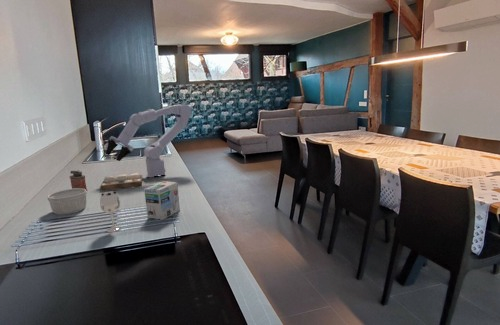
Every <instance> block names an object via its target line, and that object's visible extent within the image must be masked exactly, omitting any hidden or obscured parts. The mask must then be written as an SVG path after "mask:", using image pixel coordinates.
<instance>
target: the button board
mask: <svg viewBox="0 0 500 325" xmlns="http://www.w3.org/2000/svg"><path fill="white" fill-rule="evenodd" d="M114 180H115V181H114V182H117V181H118V177H114ZM127 180H131V176H130V175H129V176H128V175H127ZM132 180H134V179H132ZM142 180H144V179H143V174H140V181H137V182H128V183H120V184H111V185H102V184H103V183H107V182H105V181H104V180H103V181H102V183H101V184H100V186H99V187H100V192H110V191H116V190H125V189H133V188H132V187H134V188H141V187H140V186H142V187H143V181H142ZM123 181H126V180H123Z"/></svg>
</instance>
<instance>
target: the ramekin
mask: <svg viewBox="0 0 500 325" xmlns="http://www.w3.org/2000/svg"><path fill="white" fill-rule="evenodd" d="M87 192H88V191H87ZM87 192H86V189H82V188H74V189H72V188H68V189H61V190H59V191H58V190H57V191H54V192H52V193H50V194H48V195H47V201H48V202H49V206H50V208H51V211H52V213H53V214H55V215H59V216H60V215H61V216H62V215H71V214H75V213H78V212H79V213H80V211H83V210H84V209H85V208H86V207H87V194H88V193H87Z"/></svg>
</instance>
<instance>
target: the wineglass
mask: <svg viewBox="0 0 500 325" xmlns="http://www.w3.org/2000/svg"><path fill="white" fill-rule="evenodd" d="M99 200H100V202H99V204H100V209H101V210H102V212H104V213H106V214H110V216H109V217H110V218H111V224H112V226H111V227H108V228H107V229H106V232H108V233H115V232H118V231H120V230H122V227H121V226H117V225H116V226H115V223H114V220H115V219H114V217H115V215H114V213H116V212H118V211H119V209H120V207H121V200H120V196H119V194H118V192H117V191H116V190H110V191H104V192H101V194H100V199H99Z"/></svg>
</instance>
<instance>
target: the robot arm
mask: <svg viewBox="0 0 500 325" xmlns="http://www.w3.org/2000/svg"><path fill="white" fill-rule="evenodd" d="M169 114H174V116H175V119H176V122H175V123H174V124H173V125H172V126H171V127H170V128H169V129H168V130H167V131H166V132H165V133H164V134H163V135H162V136H160V137H159V139H157V140H156V141H155V142H153V143H151V144H150V145H149V146H145V147H144V149H143V155H144V157H145V164H146V172H147V174H146V178H147V177H150V178H155V177H154V176H158V175H165V176H166V168H165V162H164V161H165V160H164V158H160V157H161V154H162V153H163V152H164V149H165V148H166V147H167V146H168V144H170V142H172V141H173V140H174V139H175V138H176V137H177V136H178V135H179V134H180V133H181V132H182V131H183V130H184V129H185V128H186V127H187V126H188V123H189V120H190V118H191V116H192V109H191V107H190V105H189V104H176V105H175V104H173V105H170V106H165V107H164V108H160V109H158V110H155V109H153V108H152V109H151V108H148V109H147V110H144V111H138V113H133V114H132V115H130V117H129V120H128V122H127V123H126V125H125V126H124V127H123V130H122V131H121V132H120V133H119V135H118V137H115V136H113V135H111V136H110V137H109V139H108V140H107V147H106V151H105V155H107V156H110V155H111V153H112V152H113V151H114V150H115V149H116V147H118V146H119V145H120V146H121V148H120V151H119V153H118V155H117V156H116V159H115V160H116V161H118V162H120V161H121V160H122V159H124V158H125V157H126V156H128V155H129V154H131V153H132V151H133V150H134V148H135V147H134V146H132V145H130V144H129V143H130V142H131V140H132V139H133V138H134V136H135V134H136V132H137V131H138V129H139V128H140V126H142V125H144V124H145V123H146V124H147V123H149V122H154V121H156V120H157V119H158V117H160V116H161V117H162V116H165V115H169Z"/></svg>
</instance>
